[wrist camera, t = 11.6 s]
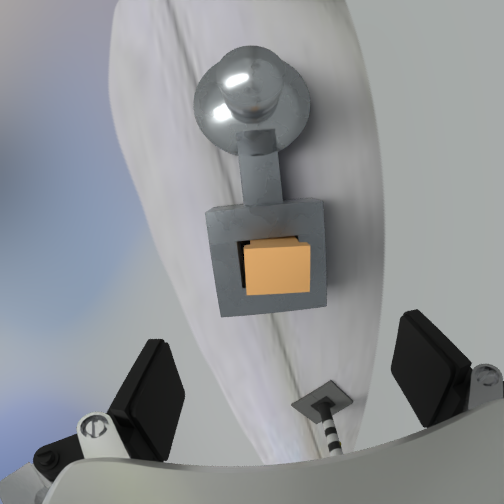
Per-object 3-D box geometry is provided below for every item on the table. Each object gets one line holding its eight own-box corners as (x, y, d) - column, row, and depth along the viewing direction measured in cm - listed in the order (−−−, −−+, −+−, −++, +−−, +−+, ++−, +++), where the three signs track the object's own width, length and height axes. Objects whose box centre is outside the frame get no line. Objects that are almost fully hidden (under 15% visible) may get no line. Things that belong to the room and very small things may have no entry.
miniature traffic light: (356, 398, 35) (415, 564, 6) (316, 422, 36) (348, 586, 7) (332, 375, 33) (395, 576, 4) (288, 402, 35) (312, 595, 6)
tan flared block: (247, 227, 28) (243, 248, 19) (292, 225, 28) (310, 245, 19) (249, 261, 29) (246, 295, 20) (293, 258, 29) (309, 291, 20)
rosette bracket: (196, 71, 24) (171, 28, 14) (297, 62, 24) (314, 15, 14) (222, 296, 30) (209, 346, 21) (319, 286, 30) (345, 332, 20)
